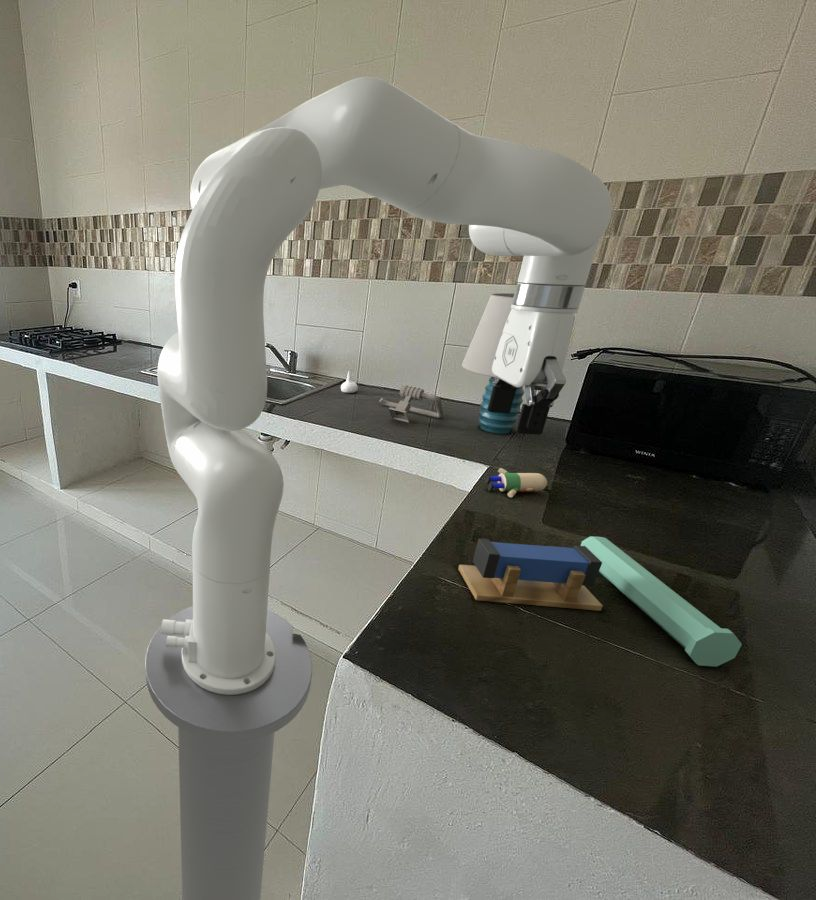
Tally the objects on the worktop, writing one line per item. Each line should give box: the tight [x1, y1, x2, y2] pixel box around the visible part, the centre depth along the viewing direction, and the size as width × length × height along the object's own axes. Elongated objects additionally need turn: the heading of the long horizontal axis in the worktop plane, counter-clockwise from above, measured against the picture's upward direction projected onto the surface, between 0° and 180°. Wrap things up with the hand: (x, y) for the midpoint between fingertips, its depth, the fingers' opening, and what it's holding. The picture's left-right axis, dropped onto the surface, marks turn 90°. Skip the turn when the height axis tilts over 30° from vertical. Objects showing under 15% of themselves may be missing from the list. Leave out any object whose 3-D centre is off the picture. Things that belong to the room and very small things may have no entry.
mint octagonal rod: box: [580, 535, 743, 668], centre depth 73 cm, size 6×6×25 cm
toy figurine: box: [484, 467, 548, 498], centre depth 108 cm, size 8×4×12 cm
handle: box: [472, 538, 602, 587], centre depth 75 cm, size 16×4×4 cm, turn 83°
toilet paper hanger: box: [378, 385, 445, 423], centre depth 158 cm, size 22×11×14 cm
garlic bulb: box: [340, 370, 358, 394], centre depth 184 cm, size 6×6×8 cm
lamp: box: [461, 292, 525, 435], centre depth 140 cm, size 25×25×39 cm
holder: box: [457, 541, 603, 612], centre depth 76 cm, size 18×8×6 cm, turn 83°
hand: (512, 422), depth 70 cm, fingers open, 9 cm apart
